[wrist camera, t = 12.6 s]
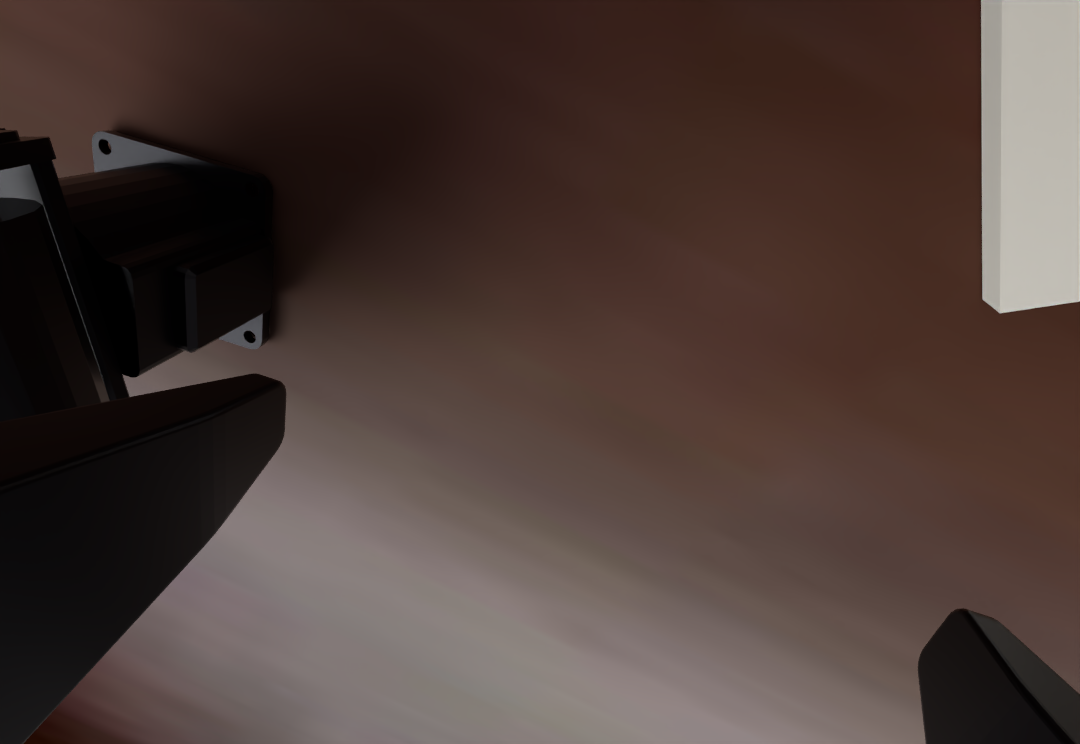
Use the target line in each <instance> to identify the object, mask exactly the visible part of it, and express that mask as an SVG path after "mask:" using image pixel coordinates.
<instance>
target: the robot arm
mask: <svg viewBox="0 0 1080 744" xmlns="http://www.w3.org/2000/svg"><path fill="white" fill-rule="evenodd" d="M108 142H109V144H110V145H111V148H112V150H110V149H109V146H108ZM92 149H93V159H94V169H95V172H94V173H88V174H82V175H76V176H70V177H64V178H58V177H57V174H56V171H55V167H54V164H53V161H52V160H53V159H56V156H55V153H54V150H53V147H52V144H51V141H50V138H49V137H19V135H18V132H17V131H16V130H5V128H0V744H23V743H24V742H25V741H26V740H27V739H28V738H29V737H30V735H31V734H32V733H33V732H34V731H35V730H36V729H37V728H38V727H39V726H40V725H41V724H42V722H43V721H44V720H45V719H46V718H47V717H48V716H49V715H50V714H51V713H52V712H53V710H54V709H55V708H56V707H57V706H58V705H59V704H60V703H61V702H62V701H63V700H64V698H65V697H66V696H67V695H68V694H69V693H70V692H71V691H72V690H73V689H74V688H75V686H76V685H77V684H78V683H79V682H80V681H81V680H82V679H83V678H84V677H85V676H86V674H87V673H88V672H89V671H90V670H91V669H92V668H93V667H94V666H95V665H96V664H97V662H98V661H99V660H100V659H101V658H102V657H103V656H104V655H105V654H106V653H107V652H108V651H109V649H110V648H111V647H112V646H113V645H114V644H115V643H116V642H117V641H118V640H119V639H120V637H121V636H122V635H123V634H124V633H125V632H126V631H127V630H128V629H129V628H130V627H131V625H132V624H133V623H134V622H135V621H136V620H137V619H138V618H139V617H140V616H141V615H142V613H143V612H144V611H145V610H146V609H147V608H148V607H149V606H150V605H151V604H152V603H153V601H154V600H155V599H156V598H157V597H158V596H159V595H160V594H161V593H162V592H163V591H164V590H165V588H166V587H167V586H168V585H169V584H170V583H171V582H172V581H173V580H174V579H175V578H176V576H177V575H178V574H179V573H180V572H181V571H182V570H183V569H184V568H185V567H186V566H187V564H188V563H189V562H190V561H191V560H192V559H193V558H194V557H195V556H196V555H197V554H198V552H199V551H200V550H201V549H202V548H203V547H204V546H205V545H206V544H207V542H208V541H209V540H210V539H211V538H212V537H213V536H214V534H215V533H216V532H217V531H218V529H219V528H220V527H221V526H222V524H223V523H224V522H225V520H226V519H227V518H228V516H229V515H230V514H231V512H232V511H233V510H234V508H235V507H236V506H237V504H238V503H239V502H240V500H241V499H242V497H243V496H244V495H245V493H246V492H247V491H248V489H249V488H250V487H251V485H252V484H253V483H254V481H255V480H256V478H257V477H258V476H259V474H260V473H261V472H262V470H263V469H264V468H265V466H266V465H267V464H268V462H269V461H270V460H271V458H272V457H273V455H274V454H275V453H276V451H277V450H278V448H279V447H280V445H281V443H282V440H283V437H284V432H285V412H286V388H285V386H284V384H283V383H282V382H280V381H278V380H275V379H272V378H269V377H266V376H263V375H260V374H248V375H243V376H238V377H233V378H227V379H222V380H217V381H212V382H207V383H201V384H196V385H191V386H186V387H180V388H175V389H170V390H165V391H159V392H154V393H149V394H144V395H138V396H133V397H130V396H129V393H128V390H127V387H126V384H125V381H124V378H123V375H126V376H129V377H137V376H139V375H141V374H143V373H145V372H147V371H148V370H150V369H152V368H154V367H156V366H158V365H159V364H161V363H163V362H165V361H167V360H169V359H170V358H172V357H174V356H176V355H178V354H180V353H181V352H183V351H187V352H190V353H192V352H195V351H197V350H199V349H200V348H202V347H204V346H206V345H208V344H209V343H211V342H213V341H215V340H217V339H221V340H224V341H227V342H230V343H233V344H236V345H239V346H243V347H246V348H249V349H257V348H259V347H261V346H262V345H264V344H265V343H266V342H267V340H268V332H269V309H271V307H272V279H273V244H272V241H271V229H272V195H273V192H272V186H271V184H270V182H269V180H268V179H267V178H266V177H265V176H264V175H262V174H260V173H256V172H253V171H250V170H246V169H243V168H239V167H236V166H232V165H229V164H225V163H222V162H219V161H215V160H212V159H208V158H205V157H201V156H198V155H195V154H191V153H188V152H184V151H181V150H177V149H174V148H170V147H167V146H164V145H160V144H157V143H153V142H150V141H146V140H143V139H140V138H136V137H133V136H129V135H126V134H122V133H119V132H115V131H99V132H97V133H95V134H94V136H93V137H92ZM253 183H254V184H256V186H257V187H258V190H259V194H258V195H257V194H255V192H254V191H253V188H252V185H253ZM250 331H251V332H253V333H254V335H255V336H256V339H255V338H253V337H252V335H251V333H250ZM122 374H123V375H122ZM918 676H919V685H920V695H921V704H922V713H923V722H924V731H925V741H926V744H1080V694H1079V693H1077V692H1076V691H1075V690H1074V689H1073V688H1072V687H1071V686H1070V685H1069V684H1067V683H1066V682H1065V681H1064V680H1063V679H1062V678H1061V677H1060V676H1059V675H1058V674H1056V673H1055V672H1054V671H1053V670H1052V669H1051V668H1050V667H1049V666H1048V665H1046V664H1045V663H1044V662H1043V661H1042V660H1041V659H1040V658H1039V657H1038V656H1037V655H1035V654H1034V653H1033V652H1032V651H1031V650H1030V649H1029V648H1028V647H1027V646H1025V645H1024V644H1023V643H1022V642H1021V641H1020V640H1019V639H1018V638H1017V637H1016V636H1014V635H1013V634H1012V633H1011V632H1010V631H1009V630H1008V629H1007V628H1006V627H1004V626H1003V625H1002V624H1001V623H1000V622H999V621H997V620H995V619H994V618H992V617H988V616H985V615H982V614H979V613H976V612H973V611H970V610H967V609H956V610H954V611H953V612H951V613H950V614H949V615H948V617H947V618H946V619H945V621H944V622H943V623H942V625H941V626H940V627H939V628H938V630H937V631H936V632H935V634H934V635H933V636H932V638H931V639H930V640H929V642H928V643H927V644H926V646H925V647H924V648H923V650H922V652H921V654H920V657H919V661H918Z"/></svg>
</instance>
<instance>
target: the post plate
mask: <svg viewBox="0 0 1080 744" xmlns="http://www.w3.org/2000/svg"><path fill="white" fill-rule="evenodd" d="M981 91H982V299H983V300H984V301H985V302H986V303H988V304H989V305H990V306H991V307H993V308H994V309H995V310H997V311H998V312H999V313H1005V312H1012V311H1019V310H1025V309H1032V308H1039V307H1045V306H1052V305H1059V304H1065V303H1072V302H1079V301H1080V0H981Z"/></svg>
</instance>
